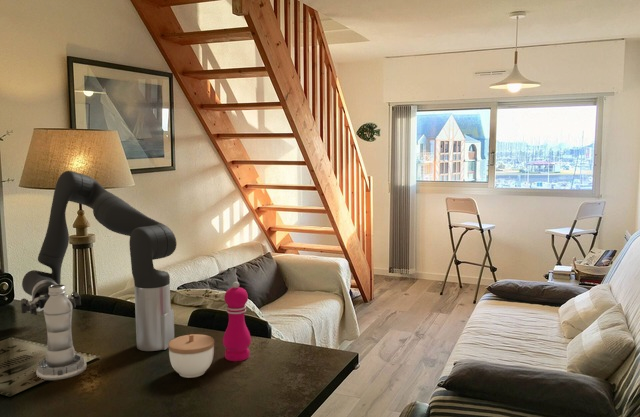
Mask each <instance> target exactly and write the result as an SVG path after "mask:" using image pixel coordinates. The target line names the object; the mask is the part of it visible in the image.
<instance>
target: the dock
mask: <svg viewBox="0 0 640 417" xmlns="http://www.w3.org/2000/svg"><path fill="white" fill-rule="evenodd" d="M86 370H87V361H86V360H85V355H83V354H81V353H76V352H75V360H74V362H73V364H72V365H68V366H65V367H58V368H50V367H49V366H48V365H47V361H46V357H45V358H43V359H42V360H40V361H38V364H37V368H36V370H35V371H36V372H35V375H37V376H36V378H38V377H39V378H41V379H40V380H42V379H44V381H60V380H66V379H70V378H73V377H75V376H78V375H81V374H82V373H84V372H85V371H86ZM39 378H38V379H39Z"/></svg>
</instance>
